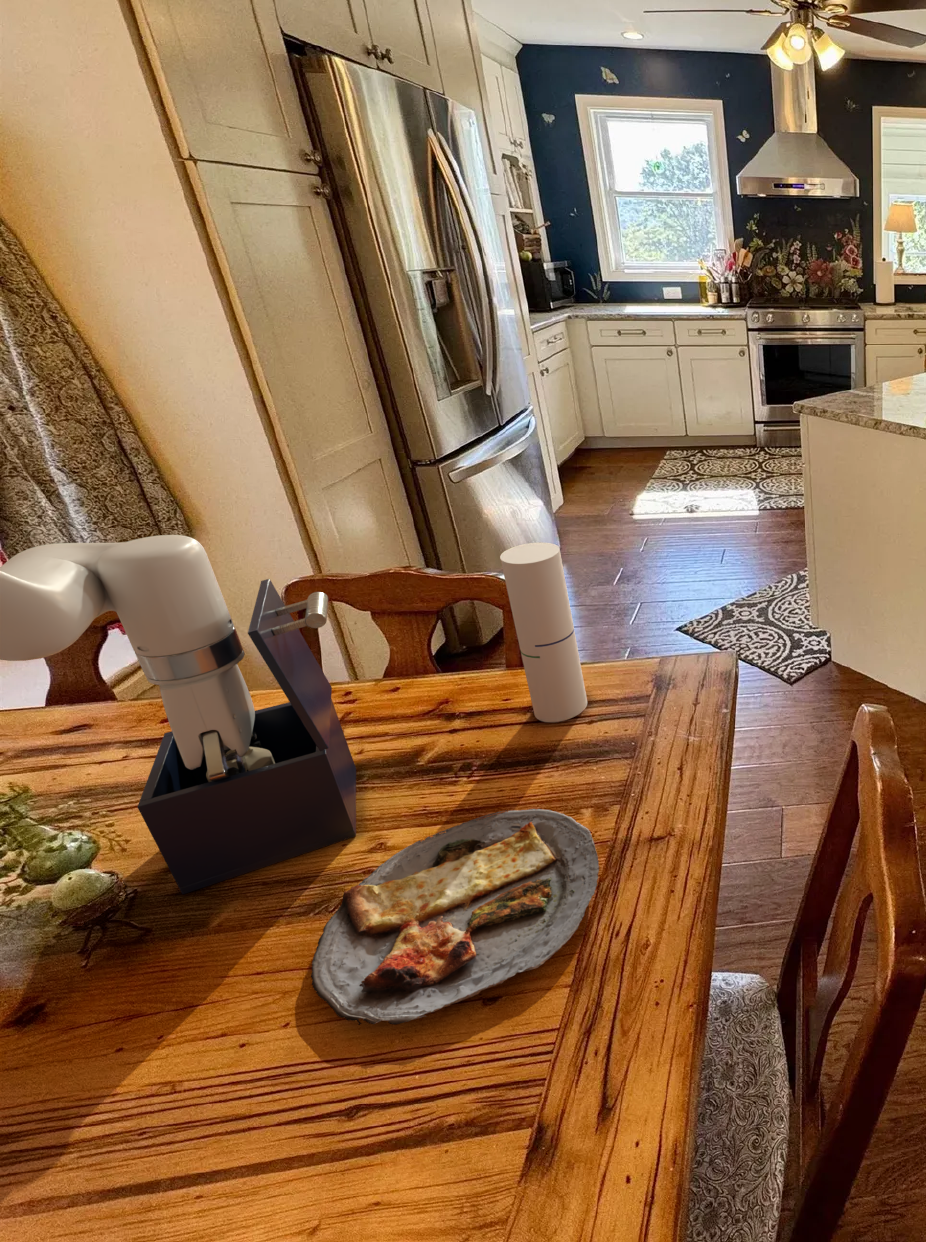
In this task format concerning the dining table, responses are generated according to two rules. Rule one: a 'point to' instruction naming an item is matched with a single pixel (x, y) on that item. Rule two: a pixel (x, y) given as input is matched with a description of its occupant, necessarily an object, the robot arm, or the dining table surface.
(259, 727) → the navy blue box
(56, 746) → the dining table surface
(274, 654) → the lid
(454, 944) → the food plate
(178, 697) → the robot arm
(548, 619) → the cylindrical container
